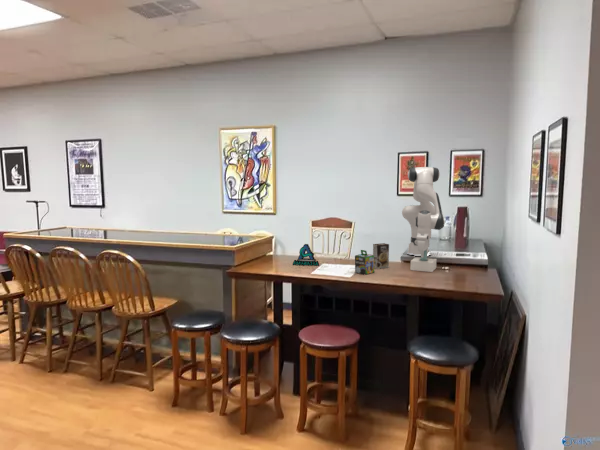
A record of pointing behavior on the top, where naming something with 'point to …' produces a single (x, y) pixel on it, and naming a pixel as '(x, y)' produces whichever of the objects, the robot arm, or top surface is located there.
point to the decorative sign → (306, 261)
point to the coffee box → (381, 255)
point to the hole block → (423, 264)
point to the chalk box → (364, 263)
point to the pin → (424, 256)
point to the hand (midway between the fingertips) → (423, 256)
